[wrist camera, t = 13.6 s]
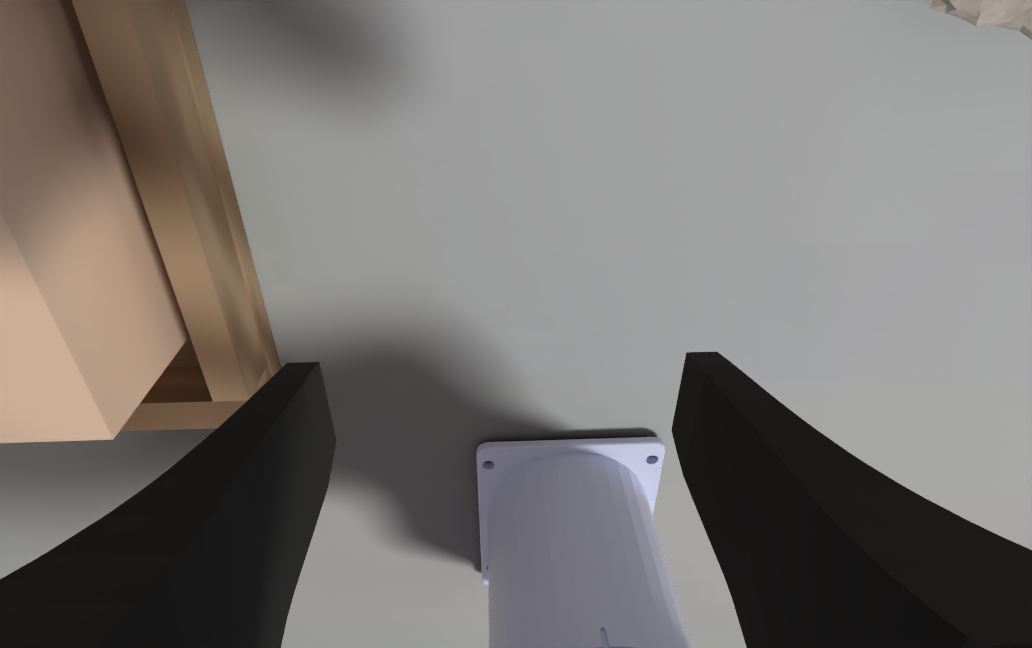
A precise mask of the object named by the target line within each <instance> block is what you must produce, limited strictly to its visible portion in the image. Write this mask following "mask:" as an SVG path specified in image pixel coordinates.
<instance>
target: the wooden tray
mask: <svg viewBox="0 0 1032 648" xmlns="http://www.w3.org/2000/svg"><path fill="white" fill-rule="evenodd" d="M72 3H73V6H74V9H75V12H76V15H77V17H78V20H79V23H80V26H81V29H82V32H83V34H84V37H85V40H86V43H87V46H88V49H89V51H90V54H91V57H92V60H93V63H94V66H95V68H96V71H97V74H98V77H99V80H100V83H101V85H102V88H103V91H104V94H105V97H106V100H107V102H108V105H109V108H110V111H111V114H112V117H113V120H114V122H115V125H116V128H117V131H118V134H119V137H120V139H121V142H122V145H123V148H124V151H125V154H126V156H127V159H128V162H129V165H130V168H131V171H132V173H133V176H134V179H135V182H136V185H137V188H138V190H139V193H140V196H141V199H142V202H143V205H144V207H145V210H146V213H147V216H148V219H149V222H150V225H151V227H152V230H153V233H154V236H155V239H156V242H157V244H158V247H159V250H160V253H161V256H162V259H163V261H164V264H165V267H166V270H167V273H168V276H169V278H170V281H171V284H172V287H173V290H174V293H175V295H176V298H177V301H178V304H179V307H180V310H181V312H182V315H183V318H184V321H185V324H186V327H187V330H188V332H189V335H190V336H189V338H188V339H187V340H186V342H185V343H184V344H183V346H182V347H181V348H180V350H179V351H178V353H177V354H176V355H175V357H174V358H173V359H172V361H171V362H170V363H169V365H168V366H167V367H166V369H165V370H164V371H163V373H162V374H161V376H160V377H159V378H158V380H157V381H156V382H155V384H154V385H153V386H152V388H151V389H150V390H149V392H148V393H147V394H146V396H145V397H144V399H143V400H142V401H141V403H140V404H139V405H138V407H137V408H136V409H135V411H134V412H133V413H132V415H131V416H130V417H129V419H128V420H127V422H126V423H125V424H124V426H123V427H122V428H121V430H120V431H152V430H185V429H217V428H218V427H220V426H221V425H222V424H223V423H224V422H225V421H226V420H227V419H228V418H229V417H230V416H231V415H232V414H234V413H235V412H236V411H237V410H238V409H239V408H240V407H241V406H242V405H243V404H244V403H245V402H247V401H248V400H249V399H250V398H251V397H252V396H253V395H254V394H255V393H256V392H257V391H258V390H259V389H260V388H261V387H262V386H263V385H264V384H265V383H266V382H267V381H268V380H269V379H271V378H272V377H273V376H274V375H275V374H276V373H277V372H278V371H279V370H280V369H281V367H280V363H279V359H278V355H277V351H276V348H275V344H274V340H273V336H272V332H271V329H270V325H269V321H268V317H267V313H266V310H265V306H264V302H263V298H262V294H261V290H260V287H259V283H258V279H257V275H256V271H255V268H254V264H253V260H252V256H251V252H250V248H249V245H248V241H247V237H246V233H245V229H244V226H243V222H242V218H241V214H240V210H239V207H238V203H237V199H236V195H235V191H234V187H233V184H232V180H231V176H230V172H229V168H228V165H227V161H226V157H225V153H224V149H223V146H222V142H221V138H220V134H219V130H218V126H217V123H216V119H215V115H214V111H213V107H212V104H211V100H210V96H209V92H208V88H207V85H206V81H205V77H204V73H203V69H202V65H201V62H200V58H199V54H198V50H197V46H196V43H195V39H194V35H193V31H192V27H191V23H190V20H189V16H188V12H187V8H186V4H185V1H184V0H72Z"/></svg>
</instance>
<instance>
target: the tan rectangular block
mask: <svg viewBox="0 0 1032 648" xmlns="http://www.w3.org/2000/svg"><path fill="white" fill-rule="evenodd" d="M189 336H190V335H189V332H188V330H187V327H186V324H185V321H184V318H183V315H182V312H181V310H180V307H179V304H178V301H177V298H176V295H175V293H174V290H173V287H172V284H171V281H170V278H169V276H168V273H167V270H166V267H165V264H164V261H163V259H162V256H161V253H160V250H159V247H158V244H157V242H156V239H155V236H154V233H153V230H152V227H151V225H150V222H149V219H148V216H147V213H146V210H145V207H144V205H143V202H142V199H141V196H140V193H139V190H138V188H137V185H136V182H135V179H134V176H133V173H132V171H131V168H130V165H129V162H128V159H127V156H126V154H125V151H124V148H123V145H122V142H121V139H120V137H119V134H118V131H117V128H116V125H115V122H114V120H113V117H112V114H111V111H110V108H109V105H108V102H107V100H106V97H105V94H104V91H103V88H102V85H101V83H100V80H99V77H98V74H97V71H96V68H95V66H94V63H93V60H92V57H91V54H90V51H89V49H88V46H87V43H86V40H85V37H84V34H83V32H82V29H81V26H80V23H79V20H78V17H77V15H76V12H75V9H74V6H73V3H72V0H0V443H21V442H52V441H83V440H113V439H114V438H115V436H116V435H117V434H118V432H119V431H120V430H121V428H122V427H123V426H124V424H125V423H126V422H127V420H128V419H129V417H130V416H131V415H132V413H133V412H134V411H135V409H136V408H137V407H138V405H139V404H140V403H141V401H142V400H143V399H144V397H145V396H146V394H147V393H148V392H149V390H150V389H151V388H152V386H153V385H154V384H155V382H156V381H157V380H158V378H159V377H160V376H161V374H162V373H163V371H164V370H165V369H166V367H167V366H168V365H169V363H170V362H171V361H172V359H173V358H174V357H175V355H176V354H177V353H178V351H179V350H180V348H181V347H182V346H183V344H184V343H185V342H186V340H187V339H188V338H189Z"/></svg>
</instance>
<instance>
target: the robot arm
mask: <svg viewBox="0 0 1032 648" xmlns="http://www.w3.org/2000/svg"><path fill="white" fill-rule="evenodd" d="M672 433H673V438H674V442H675V446H676V450H677V454H678V458H679V461H680V465H681V469H682V472H683V476H684V478H685V481H686V483H687V486H688V488H689V491H690V493H691V496H692V498H693V501H694V503H695V506H696V508H697V511H698V513H699V516H700V518H701V521H702V523H703V525H704V528H705V530H706V533H707V535H708V538H709V540H710V542H711V545H712V547H713V550H714V552H715V555H716V557H717V560H718V562H719V564H720V567H721V569H722V572H723V574H724V577H725V580H726V582H727V585H728V588H729V591H730V593H731V596H732V599H733V602H734V606H735V609H736V613H737V616H738V619H739V623H740V626H741V629H742V633H743V636H744V640H745V643H746V646H747V648H1032V550H1030V549H1028V548H1025V547H1023V546H1021V545H1019V544H1016V543H1014V542H1012V541H1010V540H1007V539H1005V538H1003V537H1001V536H999V535H997V534H994V533H992V532H990V531H988V530H986V529H984V528H982V527H980V526H978V525H976V524H974V523H972V522H970V521H967V520H965V519H964V518H962V517H960V516H958V515H956V514H954V513H952V512H950V511H948V510H946V509H944V508H942V507H941V506H939V505H937V504H935V503H933V502H931V501H929V500H927V499H925V498H923V497H922V496H920V495H918V494H916V493H914V492H913V491H911V490H909V489H907V488H906V487H904V486H902V485H900V484H899V483H897V482H895V481H894V480H892V479H890V478H889V477H887V476H885V475H884V474H882V473H881V472H879V471H877V470H876V469H874V468H872V467H871V466H869V465H867V464H866V463H864V462H863V461H861V460H860V459H858V458H856V457H855V456H853V455H852V454H850V453H849V452H847V451H846V450H844V449H843V448H842V447H840V446H839V445H837V444H836V443H834V442H833V441H832V440H830V439H829V438H827V437H826V436H824V435H823V434H822V433H820V432H819V431H817V430H816V429H815V428H813V427H812V426H810V425H809V424H808V423H806V422H805V421H804V420H802V419H801V418H800V417H798V416H797V415H796V414H795V413H793V412H792V411H791V410H789V409H788V408H787V407H786V406H784V405H783V404H782V403H780V402H779V401H778V400H777V399H775V398H774V397H773V396H772V395H770V394H769V393H768V392H767V391H765V390H764V389H763V388H762V387H760V386H759V385H758V384H757V383H756V382H754V381H753V380H752V379H751V378H749V377H748V376H747V375H746V374H745V373H743V372H742V371H741V370H740V369H738V368H737V367H736V366H735V365H733V364H732V363H731V362H730V361H728V360H727V359H726V358H725V357H723V356H722V355H721V354H719V353H718V352H691V353H686V358H685V363H684V368H683V374H682V379H681V384H680V389H679V394H678V400H677V405H676V410H675V415H674V420H673V425H672ZM335 444H336V438H335V433H334V428H333V424H332V419H331V415H330V410H329V405H328V401H327V396H326V392H325V387H324V382H323V378H322V373H321V369H320V364H319V362H307V363H287V364H286V365H285V366H283V367H282V368H281V369H280V370H279V371H278V372H277V373H276V374H275V375H274V376H273V377H272V378H271V379H269V380H268V381H267V382H266V383H265V384H264V385H263V386H262V387H261V388H260V389H259V390H258V391H257V392H256V393H255V394H254V395H253V396H252V397H251V398H250V399H249V400H248V401H247V402H245V403H244V404H243V405H242V406H241V407H240V408H239V409H238V410H237V411H236V412H235V413H234V414H232V415H231V416H230V417H229V418H228V419H227V420H226V421H225V422H224V423H223V424H222V425H221V426H220V427H218V428H217V429H216V430H215V431H214V432H213V433H212V434H210V435H209V436H208V437H207V438H206V439H205V440H203V441H202V442H201V443H200V444H199V445H197V446H196V447H195V448H194V449H193V450H191V451H190V452H189V453H188V454H187V455H186V456H184V457H183V458H182V459H181V460H180V461H178V462H177V463H176V464H175V465H174V466H172V467H171V468H170V469H169V470H168V471H166V472H165V473H164V474H162V475H161V476H160V477H159V478H157V479H156V480H155V481H153V482H152V483H151V484H149V485H148V486H147V487H145V488H144V489H143V490H141V491H140V492H138V493H137V494H136V495H134V496H133V497H131V498H130V499H129V500H127V501H126V502H124V503H123V504H122V505H120V506H119V507H117V508H116V509H114V510H113V511H112V512H110V513H109V514H107V515H106V516H104V517H103V518H101V519H99V520H98V521H96V522H95V523H93V524H91V525H90V526H88V527H87V528H85V529H84V530H82V531H80V532H79V533H77V534H76V535H74V536H72V537H71V538H69V539H68V540H66V541H65V542H63V543H61V544H60V545H58V546H57V547H55V548H53V549H52V550H50V551H49V552H47V553H45V554H44V555H42V556H40V557H39V558H37V559H35V560H34V561H32V562H30V563H28V564H27V565H25V566H23V567H21V568H20V569H18V570H16V571H14V572H12V573H11V574H9V575H7V576H5V577H4V578H2V579H0V648H281V643H282V639H283V634H284V630H285V625H286V620H287V616H288V612H289V609H290V605H291V602H292V598H293V594H294V591H295V588H296V585H297V582H298V579H299V576H300V573H301V570H302V566H303V563H304V560H305V557H306V554H307V551H308V548H309V545H310V542H311V539H312V536H313V533H314V529H315V526H316V523H317V520H318V517H319V514H320V511H321V507H322V504H323V501H324V498H325V495H326V491H327V488H328V483H329V478H330V473H331V468H332V462H333V456H334V450H335ZM664 453H665V446H664V443H663V441H662V440H661V439H660V438H658V437H634V438H603V439H572V440H540V441H509V442H486V443H482V444H481V445H479V446H478V448H477V451H476V459H477V481H478V503H479V524H480V546H481V568H482V581H483V583H484V584H486V585H488V586H489V648H691V644H690V641H689V638H688V634H687V631H686V627H685V624H684V621H683V617H682V614H681V611H680V607H679V604H678V601H677V597H676V594H675V590H674V587H673V584H672V580H671V577H670V574H669V570H668V567H667V564H666V560H665V557H664V553H663V550H662V547H661V543H660V540H659V537H658V533H657V530H656V526H655V523H654V520H653V511H654V506H655V501H656V495H657V490H658V485H659V480H660V474H661V469H662V464H663V458H664ZM652 455H654V456H653V457H650V458H649V456H652ZM485 461H492V462H491V463H486V462H485Z"/></svg>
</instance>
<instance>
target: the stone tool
mask: <svg viewBox="0 0 1032 648" xmlns="http://www.w3.org/2000/svg"><path fill="white" fill-rule="evenodd" d="M925 2H926V3H927V5H928V6H929V8H931V9H934V10H937V11H941V12H944V13H947V14H950V15H953V16H956V17H959V18H961V19H963V20H965V21H967V22H969V23H971V24H973V25H975V26H986V25H989V26H998V27H1003V28H1008V29H1012V30H1017V31H1020V32H1022V33H1023V34H1024V35H1026V36H1027V37H1029V38H1030V39H1032V0H925Z"/></svg>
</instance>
